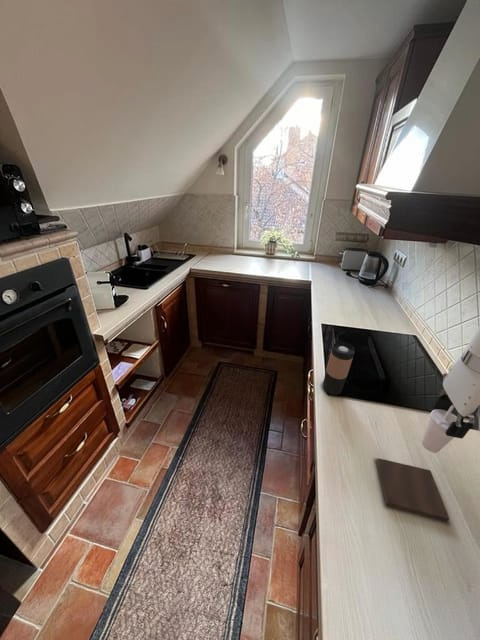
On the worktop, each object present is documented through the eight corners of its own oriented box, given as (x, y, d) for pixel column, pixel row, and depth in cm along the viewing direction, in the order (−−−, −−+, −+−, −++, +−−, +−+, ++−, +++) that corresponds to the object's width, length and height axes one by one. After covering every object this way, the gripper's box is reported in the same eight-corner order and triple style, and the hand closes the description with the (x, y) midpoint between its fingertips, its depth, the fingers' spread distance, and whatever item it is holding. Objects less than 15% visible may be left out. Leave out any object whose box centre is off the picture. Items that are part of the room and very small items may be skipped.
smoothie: (416, 429, 66) (439, 391, 59) (446, 443, 63) (473, 404, 56) (414, 448, 62) (438, 409, 55) (445, 463, 59) (475, 424, 52)
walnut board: (428, 473, 73) (430, 470, 72) (446, 521, 63) (449, 518, 62) (375, 460, 75) (377, 457, 75) (385, 505, 65) (387, 502, 65)
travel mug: (317, 384, 102) (328, 344, 91) (332, 379, 104) (344, 339, 94) (330, 398, 96) (343, 356, 85) (346, 392, 98) (360, 351, 88)
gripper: (544, 399, 41) (486, 462, 50) (484, 340, 55) (448, 397, 65) (490, 390, 42) (443, 453, 52) (445, 334, 57) (415, 391, 66)
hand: (446, 421), depth 58 cm, fingers closed on smoothie, 6 cm apart
